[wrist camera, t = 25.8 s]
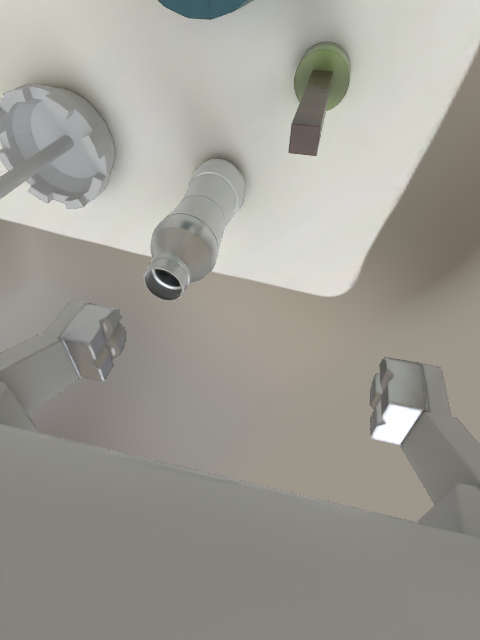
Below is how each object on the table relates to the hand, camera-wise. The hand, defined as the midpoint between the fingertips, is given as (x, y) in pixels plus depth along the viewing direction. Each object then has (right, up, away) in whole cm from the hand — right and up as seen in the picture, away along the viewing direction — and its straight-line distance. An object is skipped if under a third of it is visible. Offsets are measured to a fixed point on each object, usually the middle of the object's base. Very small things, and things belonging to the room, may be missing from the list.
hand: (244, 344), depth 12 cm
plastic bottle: (-2, +18, +34) cm, 39 cm away
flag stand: (-21, +23, +35) cm, 47 cm away
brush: (+8, +24, +24) cm, 35 cm away
